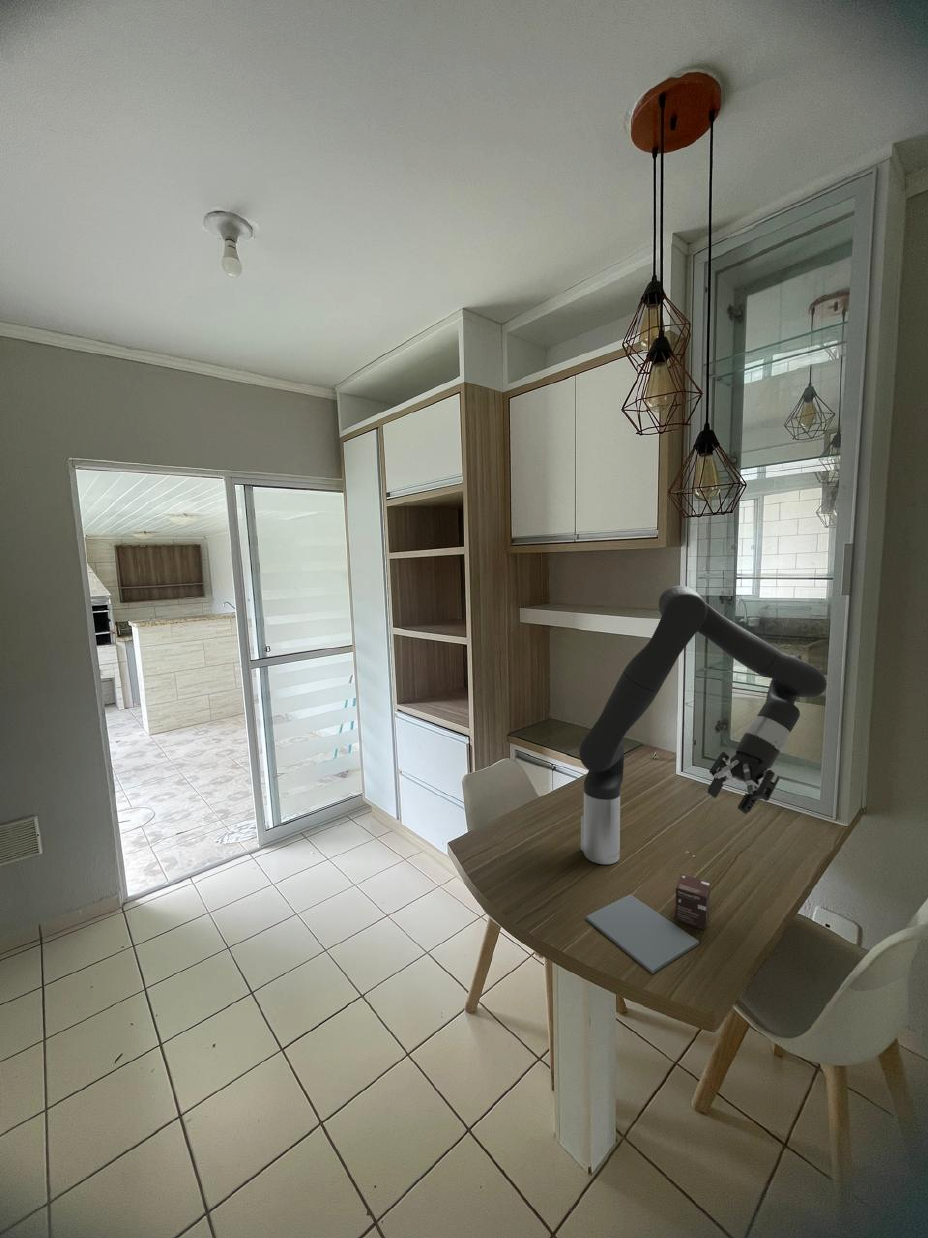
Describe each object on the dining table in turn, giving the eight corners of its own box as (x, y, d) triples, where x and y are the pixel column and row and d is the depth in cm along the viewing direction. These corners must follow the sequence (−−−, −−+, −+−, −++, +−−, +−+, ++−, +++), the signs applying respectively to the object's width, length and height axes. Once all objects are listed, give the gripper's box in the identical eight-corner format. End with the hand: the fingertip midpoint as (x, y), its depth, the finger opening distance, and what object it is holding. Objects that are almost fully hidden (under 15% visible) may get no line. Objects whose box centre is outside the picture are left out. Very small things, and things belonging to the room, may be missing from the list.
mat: (585, 919, 103) (585, 916, 103) (630, 896, 110) (630, 894, 110) (652, 974, 88) (652, 971, 88) (698, 944, 95) (698, 941, 95)
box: (674, 920, 102) (674, 887, 102) (679, 904, 107) (680, 872, 107) (705, 931, 99) (706, 897, 98) (709, 914, 104) (710, 882, 103)
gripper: (726, 724, 113) (691, 782, 111) (780, 741, 99) (741, 808, 97) (747, 741, 115) (712, 799, 113) (803, 760, 101) (764, 826, 99)
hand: (725, 803), depth 105 cm, fingers open, 8 cm apart
